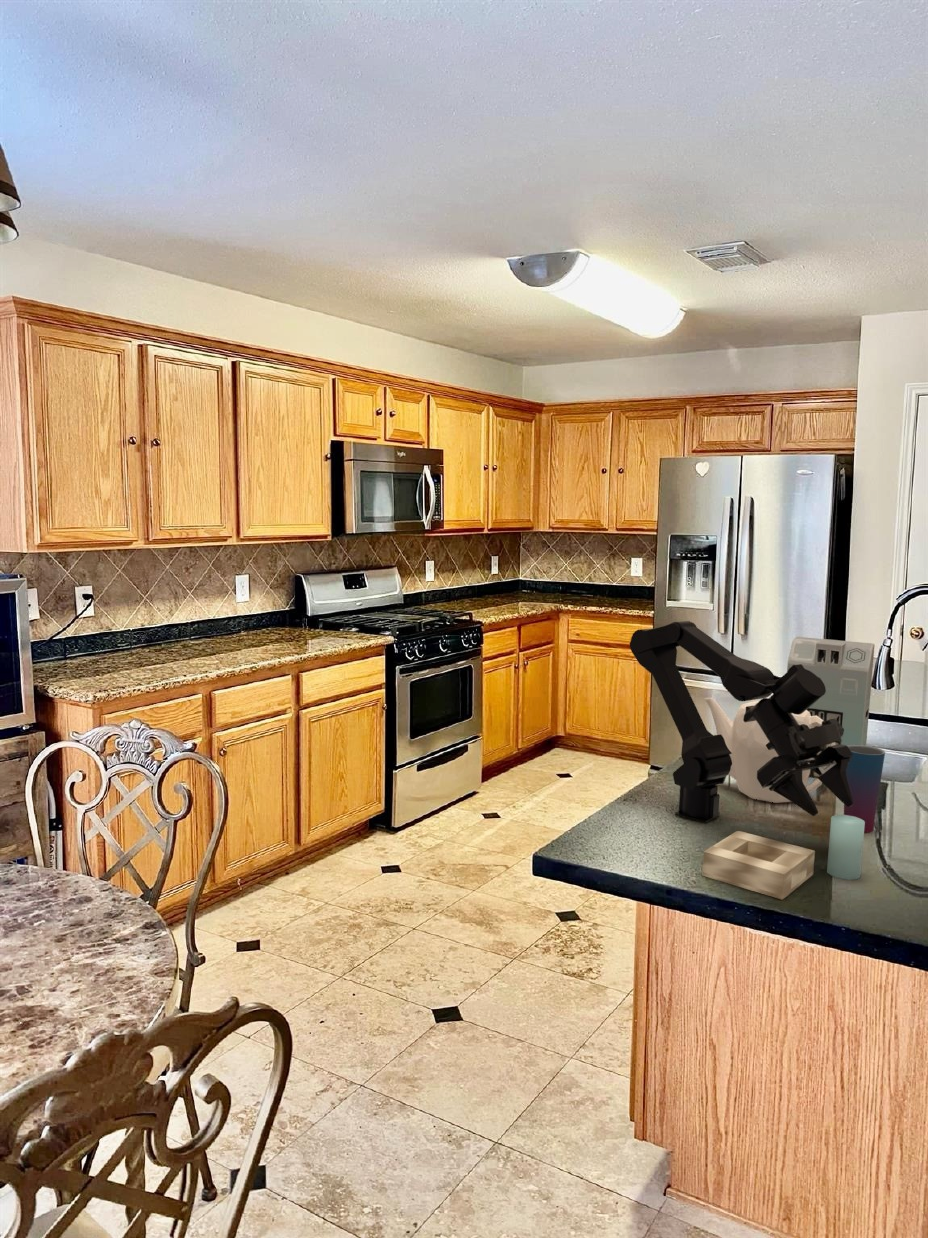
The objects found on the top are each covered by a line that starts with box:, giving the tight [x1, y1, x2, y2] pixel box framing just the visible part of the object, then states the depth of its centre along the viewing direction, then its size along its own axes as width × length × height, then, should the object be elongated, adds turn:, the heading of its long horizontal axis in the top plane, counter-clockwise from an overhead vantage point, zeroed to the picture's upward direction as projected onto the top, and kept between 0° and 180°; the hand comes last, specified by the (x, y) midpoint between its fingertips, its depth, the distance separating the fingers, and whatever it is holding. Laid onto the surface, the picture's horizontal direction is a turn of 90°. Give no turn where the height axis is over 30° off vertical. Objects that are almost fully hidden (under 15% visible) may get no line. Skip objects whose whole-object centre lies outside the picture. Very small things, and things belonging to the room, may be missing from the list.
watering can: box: [704, 696, 835, 804], centre depth 187 cm, size 16×27×19 cm, turn 59°
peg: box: [826, 814, 865, 881], centre depth 147 cm, size 5×5×9 cm
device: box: [786, 636, 875, 779], centre depth 201 cm, size 16×8×30 cm, turn 60°
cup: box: [843, 744, 886, 834], centre depth 169 cm, size 7×7×15 cm
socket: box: [701, 830, 816, 901], centre depth 146 cm, size 13×13×4 cm
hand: (833, 810), depth 149 cm, fingers open, 9 cm apart
